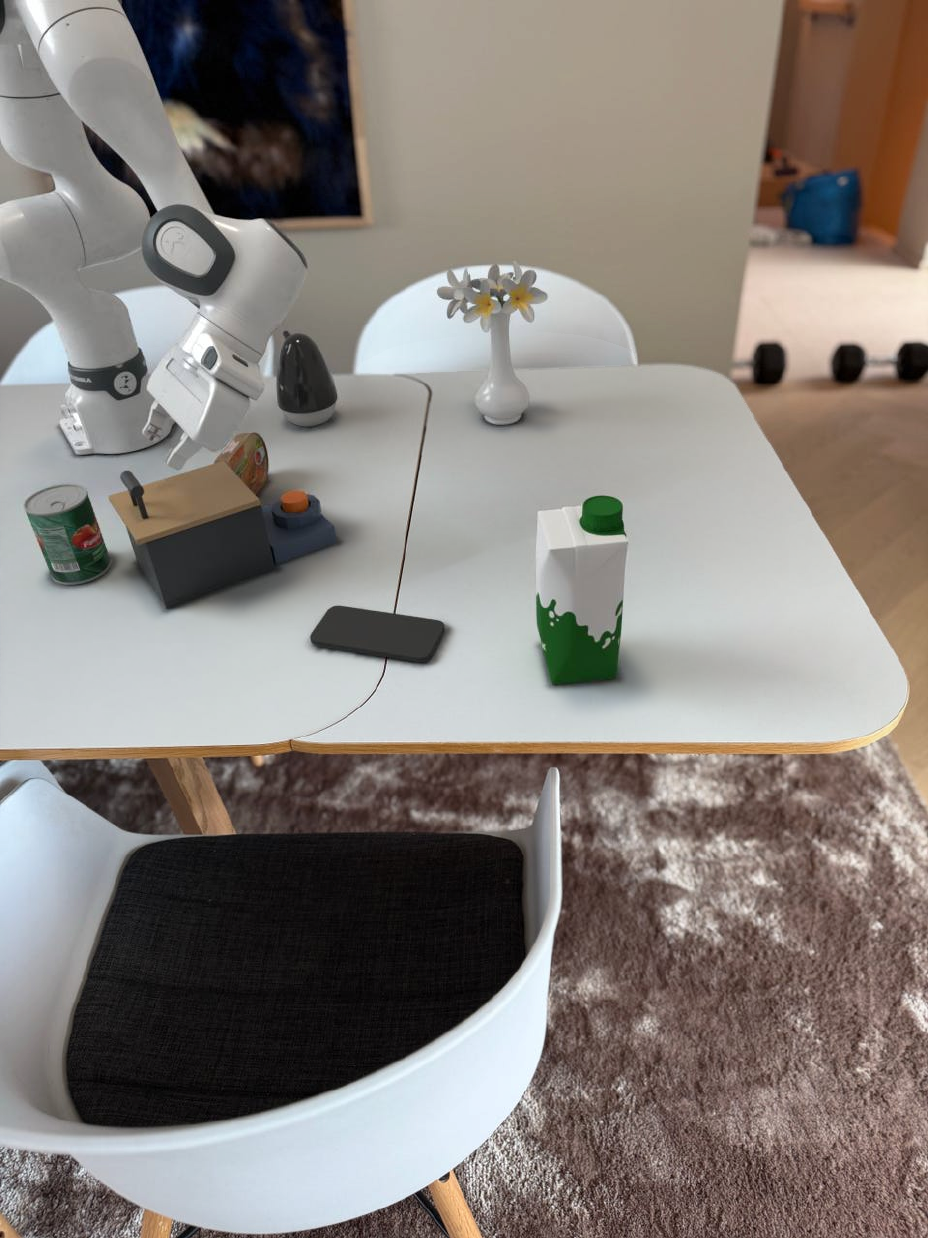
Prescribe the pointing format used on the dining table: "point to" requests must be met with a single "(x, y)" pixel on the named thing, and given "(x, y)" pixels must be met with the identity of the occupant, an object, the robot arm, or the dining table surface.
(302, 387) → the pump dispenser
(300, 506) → the release button
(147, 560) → the dark grey bin
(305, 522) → the panel
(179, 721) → the dining table surface
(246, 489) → the lid
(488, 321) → the flower vase
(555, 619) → the milk carton
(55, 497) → the canned tomato
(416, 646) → the phone
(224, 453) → the tin
